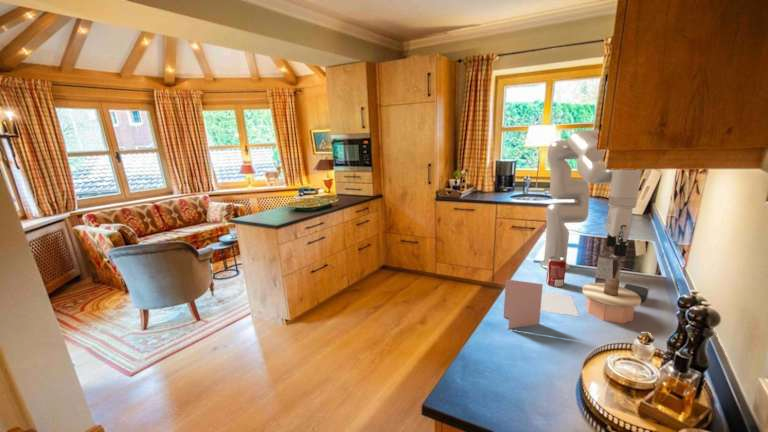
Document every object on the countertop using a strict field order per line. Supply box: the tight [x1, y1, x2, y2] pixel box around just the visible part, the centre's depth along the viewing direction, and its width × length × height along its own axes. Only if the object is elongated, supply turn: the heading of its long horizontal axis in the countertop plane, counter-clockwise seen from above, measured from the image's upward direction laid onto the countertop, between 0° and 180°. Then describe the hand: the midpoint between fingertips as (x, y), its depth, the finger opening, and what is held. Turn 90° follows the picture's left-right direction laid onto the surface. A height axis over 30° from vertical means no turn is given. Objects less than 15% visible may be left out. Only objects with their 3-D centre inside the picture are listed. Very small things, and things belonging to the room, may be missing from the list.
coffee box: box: [594, 250, 623, 283], centre depth 130 cm, size 9×6×16 cm
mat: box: [540, 291, 580, 317], centre depth 125 cm, size 16×16×1 cm
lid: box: [581, 278, 642, 308], centre depth 115 cm, size 17×17×6 cm
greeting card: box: [503, 279, 544, 331], centre depth 109 cm, size 11×7×15 cm, turn 66°
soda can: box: [545, 256, 567, 288], centre depth 139 cm, size 7×7×12 cm
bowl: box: [585, 297, 635, 324], centre depth 116 cm, size 13×13×7 cm
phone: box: [623, 283, 648, 303], centre depth 131 cm, size 7×1×15 cm
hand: (615, 251), depth 112 cm, fingers open, 9 cm apart
